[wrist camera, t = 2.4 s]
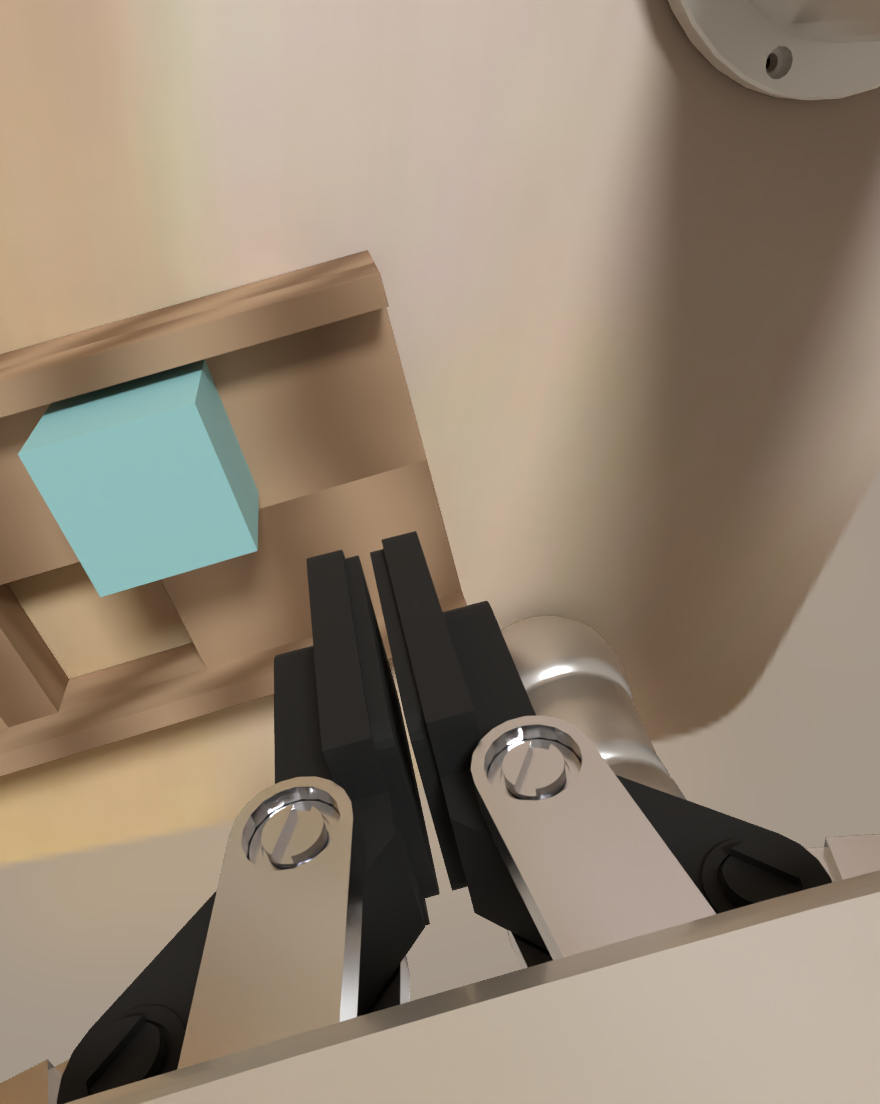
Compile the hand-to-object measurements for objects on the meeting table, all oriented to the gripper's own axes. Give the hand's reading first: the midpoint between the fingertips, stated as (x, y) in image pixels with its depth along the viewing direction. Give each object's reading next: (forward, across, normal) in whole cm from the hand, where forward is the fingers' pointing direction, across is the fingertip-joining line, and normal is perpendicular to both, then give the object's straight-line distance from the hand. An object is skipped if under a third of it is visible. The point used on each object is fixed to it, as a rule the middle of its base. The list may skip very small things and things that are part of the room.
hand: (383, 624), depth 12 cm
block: (+16, +6, +3) cm, 17 cm away
